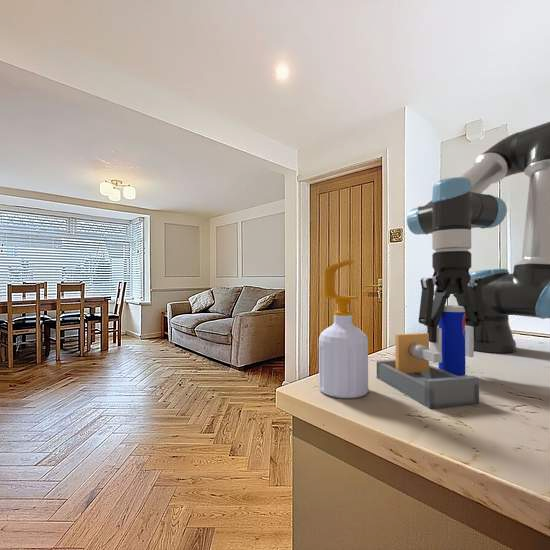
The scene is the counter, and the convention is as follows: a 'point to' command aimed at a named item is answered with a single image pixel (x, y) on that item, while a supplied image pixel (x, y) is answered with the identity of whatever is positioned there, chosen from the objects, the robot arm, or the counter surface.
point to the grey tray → (431, 385)
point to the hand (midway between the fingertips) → (451, 356)
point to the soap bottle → (342, 348)
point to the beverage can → (453, 340)
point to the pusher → (414, 353)
